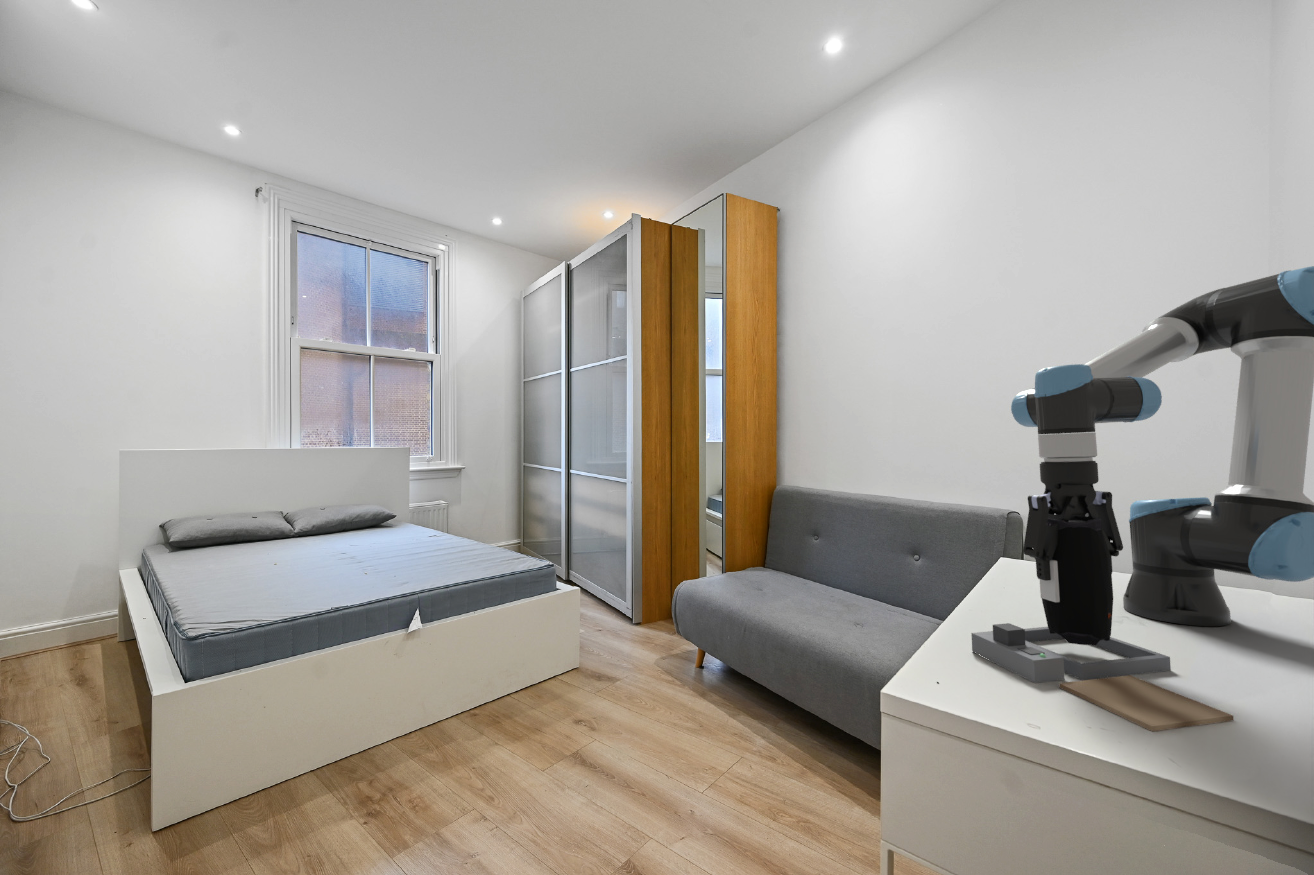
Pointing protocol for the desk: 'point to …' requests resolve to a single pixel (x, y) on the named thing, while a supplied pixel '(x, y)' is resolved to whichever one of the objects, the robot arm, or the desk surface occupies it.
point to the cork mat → (1145, 703)
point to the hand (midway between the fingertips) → (1076, 597)
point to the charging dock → (1134, 664)
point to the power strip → (1018, 653)
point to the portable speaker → (1081, 583)
